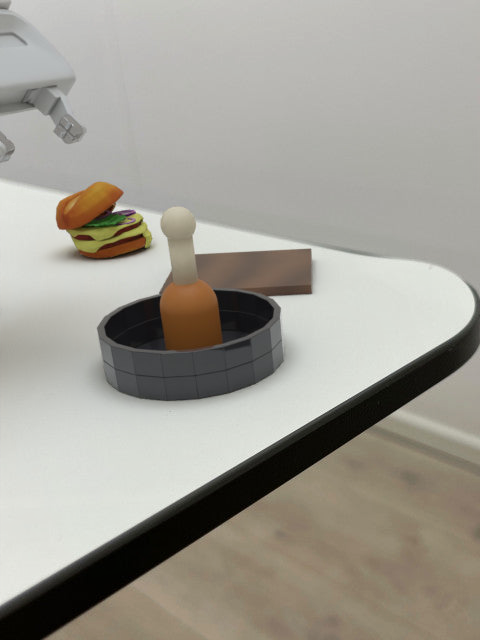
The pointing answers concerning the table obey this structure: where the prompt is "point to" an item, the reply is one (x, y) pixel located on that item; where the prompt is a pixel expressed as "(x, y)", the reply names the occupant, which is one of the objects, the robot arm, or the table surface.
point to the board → (256, 271)
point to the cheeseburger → (101, 222)
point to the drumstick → (186, 290)
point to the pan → (194, 364)
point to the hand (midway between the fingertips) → (44, 146)
